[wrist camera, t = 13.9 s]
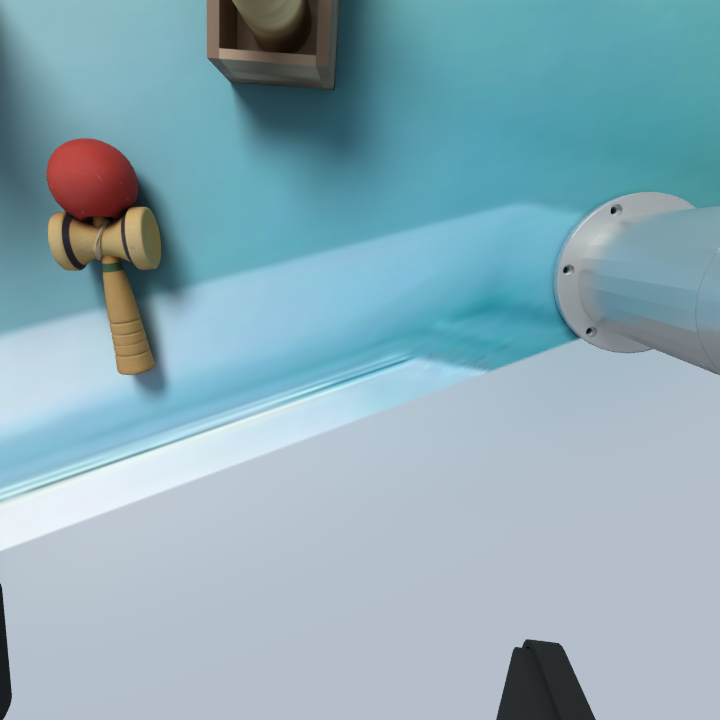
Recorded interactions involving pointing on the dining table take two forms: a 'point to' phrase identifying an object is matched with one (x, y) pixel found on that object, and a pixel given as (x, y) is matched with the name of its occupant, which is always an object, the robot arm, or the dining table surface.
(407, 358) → the dining table surface
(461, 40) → the dining table surface
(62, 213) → the kendama
